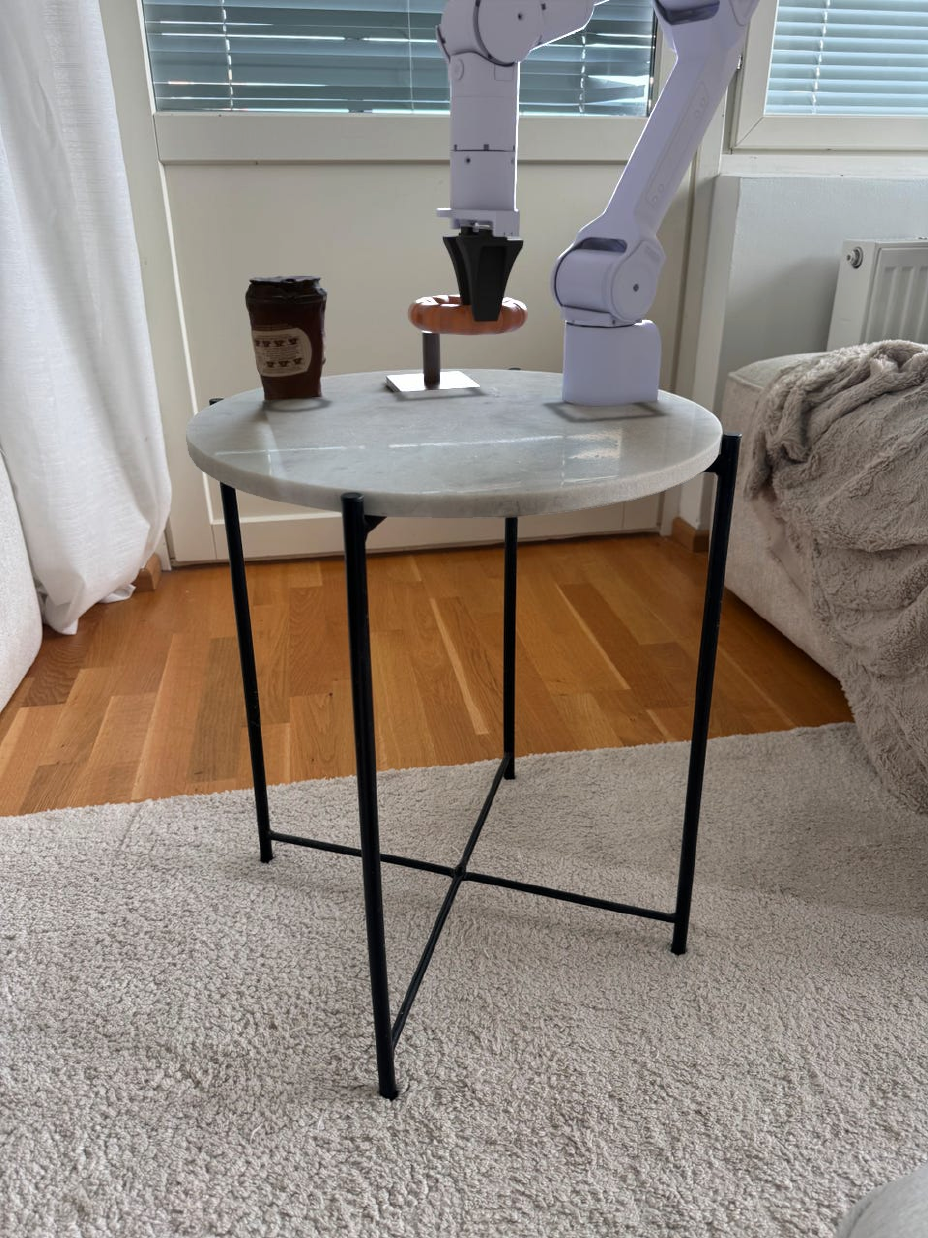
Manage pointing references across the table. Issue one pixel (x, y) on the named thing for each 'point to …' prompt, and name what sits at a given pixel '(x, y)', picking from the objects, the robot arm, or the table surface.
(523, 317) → the ring
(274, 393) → the coffee cup
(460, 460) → the table surface
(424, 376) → the stand
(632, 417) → the table surface
